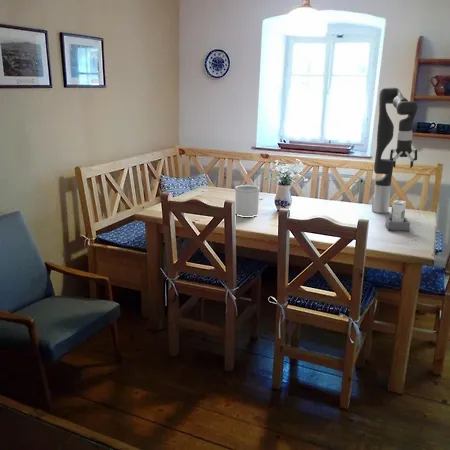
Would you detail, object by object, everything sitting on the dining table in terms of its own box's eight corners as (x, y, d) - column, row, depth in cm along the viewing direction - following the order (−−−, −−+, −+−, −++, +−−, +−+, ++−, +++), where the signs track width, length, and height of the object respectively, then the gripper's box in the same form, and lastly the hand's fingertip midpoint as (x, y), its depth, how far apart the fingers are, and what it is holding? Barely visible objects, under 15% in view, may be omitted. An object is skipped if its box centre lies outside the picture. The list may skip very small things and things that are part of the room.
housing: (387, 230, 257) (388, 222, 256) (385, 225, 268) (386, 216, 266) (409, 231, 256) (410, 222, 254) (405, 226, 266) (406, 217, 264)
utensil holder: (252, 211, 300) (252, 184, 295) (263, 216, 286) (263, 188, 282) (231, 213, 294) (231, 186, 289) (241, 219, 281) (241, 190, 276)
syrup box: (393, 224, 265) (395, 199, 261) (403, 226, 262) (406, 201, 258) (389, 226, 261) (392, 201, 257) (400, 228, 258) (402, 203, 254)
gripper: (418, 137, 259) (415, 166, 264) (390, 137, 263) (389, 165, 269) (419, 139, 252) (416, 169, 258) (391, 140, 256) (389, 169, 262)
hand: (402, 167), depth 263 cm, fingers open, 8 cm apart
